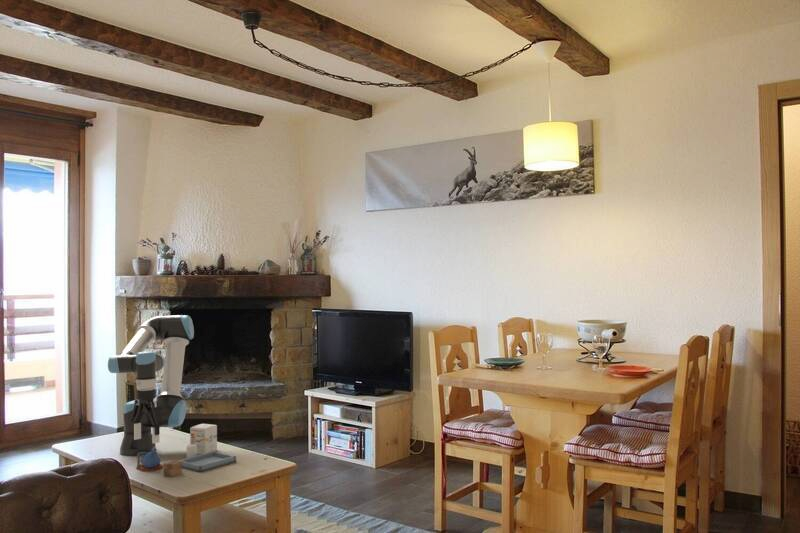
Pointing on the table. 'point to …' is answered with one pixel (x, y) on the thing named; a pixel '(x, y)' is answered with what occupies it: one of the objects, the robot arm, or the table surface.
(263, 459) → the table surface
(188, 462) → the tray
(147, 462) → the model
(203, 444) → the ink box
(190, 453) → the white egg
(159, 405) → the robot arm
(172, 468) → the walnut cube
